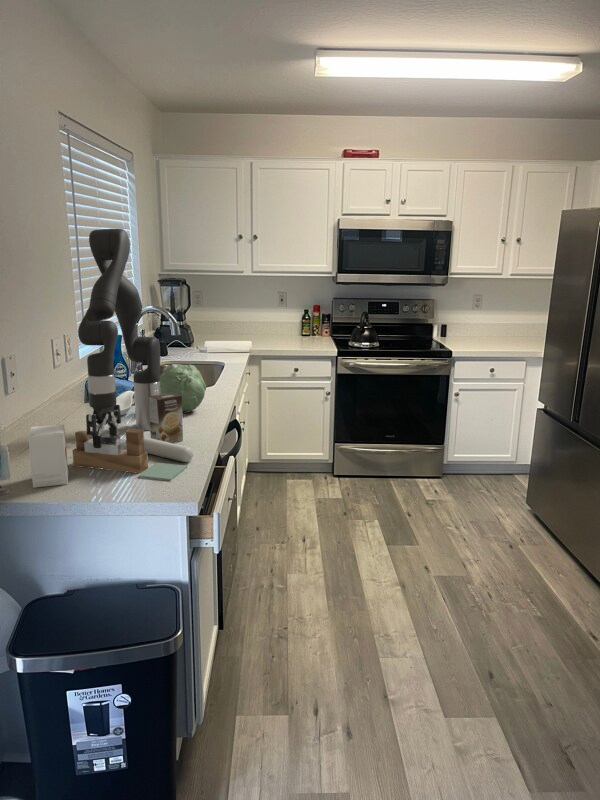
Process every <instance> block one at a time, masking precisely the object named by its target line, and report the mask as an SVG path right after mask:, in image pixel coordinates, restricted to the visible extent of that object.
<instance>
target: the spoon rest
mask: <svg viewBox="0 0 600 800" xmlns="http://www.w3.org/2000/svg"><path fill="white" fill-rule="evenodd" d="M116 402H117V404H116V405H120V415H121V416H125V415H126V414H127V413H128V412H129V411H130V410H131V407H132V405H133V403H135V394H134V390H126V391H124V392H122V393H121V394H119V395H117V396H116Z"/></svg>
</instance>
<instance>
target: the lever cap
mask: <svg viewBox="0 0 600 800" xmlns="http://www.w3.org/2000/svg"><path fill="white" fill-rule="evenodd" d="M100 436H101V448H94V447H93V437H91V438H90V439H89V440H88V441H86V442H84V447H85V452H89V453H99V454H109V455H120V454H122V453H123V452H125V451H127V445H126V439H123V438H122V439H121V435H117V436H116V435H109V434H103V435H100Z"/></svg>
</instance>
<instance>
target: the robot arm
mask: <svg viewBox="0 0 600 800" xmlns="http://www.w3.org/2000/svg"><path fill="white" fill-rule="evenodd" d="M88 243H89V247H90V251H91V254H92V256H93V258H94V261H95V263H96V266H97V268H98V270H99V272H100V273H101V275H100V276H99V278H98V279H97V280H96V281H95V283H94V284H93V287H92V289H91V294H90V299H89V305H88V308H87V310H86V312H85V314H84V315H83V318H82V319H81V320H80V323H79V325H78V329H77V337H78V340H79V341H80V343H81V344H82V345H84V346H99V347H100V346H101V347H102V346H103V349H102V351H101V352H97V353H91V354H89V355H88V357H87V358H86V362H87V363H86V366H87V376H88V377H87V390H88V404H89V405H88V406H89V407H91V408H92V409H93V411H92V414H86V416H85V421H86V422H85V423H86V431H87V435H88V436H92V437H91V438H93V447H94V448H101V436H102V435H101V434H102V431H103V430H104V429H105V426H106V425H108V433H109V434H108V435H116V436H118V429H117V428H118V427H119V424H121V423H122V418H121V417H122V415H120V405H116V404H117V402H116V397H117V390H116V387H117V386H116V385H117V384H116V378H115V372H114V371H115V370H114V369H115V368H114V356H115V349H116V346H117V345H116V343H117V340H118V336H119V329H118V326H117V325H116V323H115V322H114V321H112V320H108V319H111V318H113V316H114V315H115V316H116V318H117V322H118V324H119V328H120V330H121V333H122V334H121V335H122V338H123V341H124V346H125V350H126V354H127V357H128V358H129V360H130V361H131V362H133V363H140V364H141V363H144V364H145V363H146V364H147V366H146V367H147V368H145V369H142V370H140V371H137V372H135V373H134V374H133V387H134V388H133V389H134V390H133V392H134V394H135V404H134V411H135V425H136V426H135V427H136V428H135V429H140V430H143V431H150V408H149V396H153V395H160V394H161V391H160V375H161V346H160V345H161V344H160V340H159V339H158V337H154V336H138V335H137V332H136V325H137V324H138V321H139V319H140V317H141V315H142V312H143V303H142V300H141V296H140V293H139V290H138V289H137V287H136V286H135V284H134V283H132V281H131V280H130V279H128V278H127V277H126V276H125V275H124V273H125V272H124V271H125V270H126V266H127V263H128V260H129V257H130V251H131V241H130V238H129V234H128V232H127V231H126V230H125V229H123V228H100V229H94V230H92V231H90V233H89V235H88Z"/></svg>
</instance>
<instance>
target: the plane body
mask: <svg viewBox="0 0 600 800" xmlns="http://www.w3.org/2000/svg"><path fill="white" fill-rule="evenodd" d="M144 432H145V431H144V430H140V429H137V428H129V429H128V430H126V431H125V440H126V445H127V451H125V452H123V453H122V454H120V455H109V454H99V453H89V452H85V447H84V442H86V441H88V440H90V439H89V435H87V430H78V431H75V432H74V437H75V446H76V447H75V448H74V449H72V461H73V462H72V464H73V467H78V466H82V467H81V468H87V467H93V468H92V469H96V468H103V469H102V470H106V469H109V470H108V471H115V470H116V472H125V471H128V472H127V473H134V472H136V474H137V473H138V474H141V473H143V472H144V471H145V470H147V469H148V468H149V458H148V457H149V456H148V454H149V453H147V452H145V450H144V437H145V436H144V435H145V434H144Z"/></svg>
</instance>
